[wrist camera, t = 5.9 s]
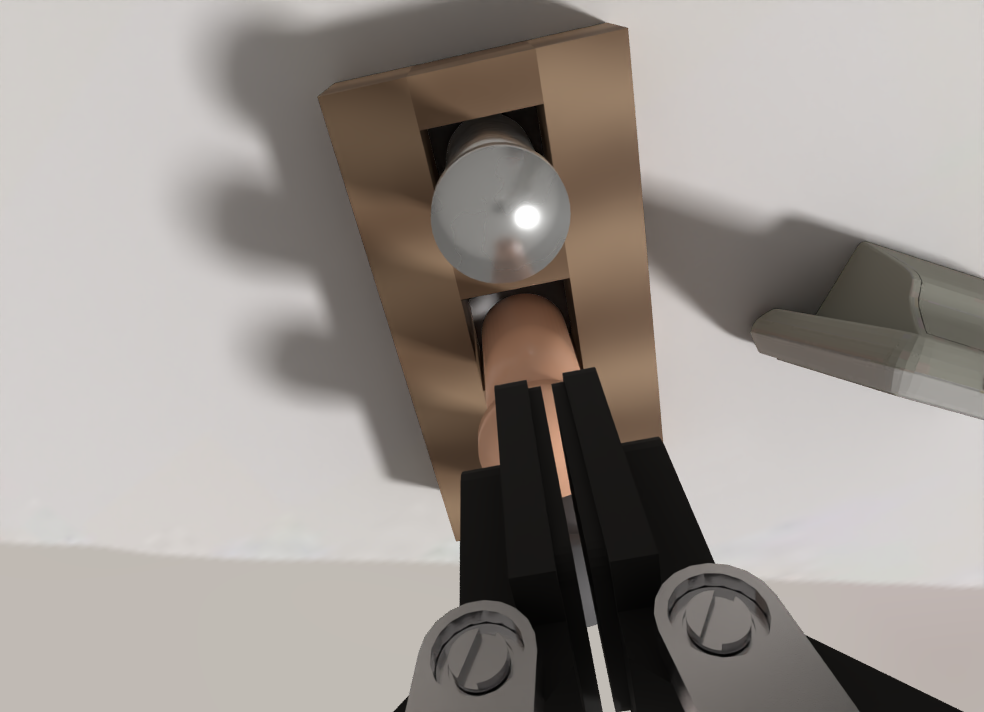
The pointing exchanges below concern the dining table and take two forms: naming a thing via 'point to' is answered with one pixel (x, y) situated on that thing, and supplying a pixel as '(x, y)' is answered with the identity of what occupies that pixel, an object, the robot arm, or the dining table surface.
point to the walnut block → (580, 263)
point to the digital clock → (891, 331)
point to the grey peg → (498, 203)
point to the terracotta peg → (525, 365)
